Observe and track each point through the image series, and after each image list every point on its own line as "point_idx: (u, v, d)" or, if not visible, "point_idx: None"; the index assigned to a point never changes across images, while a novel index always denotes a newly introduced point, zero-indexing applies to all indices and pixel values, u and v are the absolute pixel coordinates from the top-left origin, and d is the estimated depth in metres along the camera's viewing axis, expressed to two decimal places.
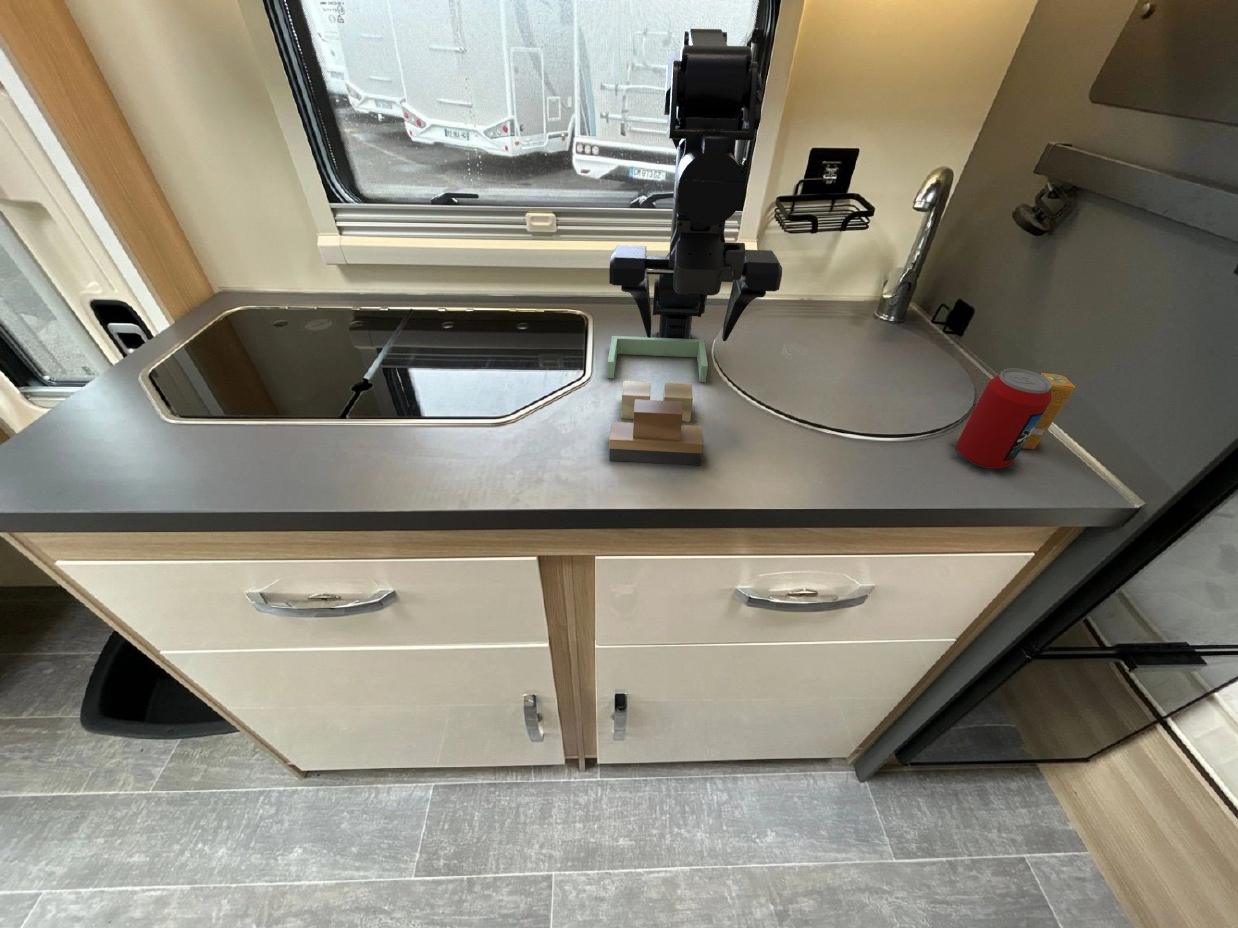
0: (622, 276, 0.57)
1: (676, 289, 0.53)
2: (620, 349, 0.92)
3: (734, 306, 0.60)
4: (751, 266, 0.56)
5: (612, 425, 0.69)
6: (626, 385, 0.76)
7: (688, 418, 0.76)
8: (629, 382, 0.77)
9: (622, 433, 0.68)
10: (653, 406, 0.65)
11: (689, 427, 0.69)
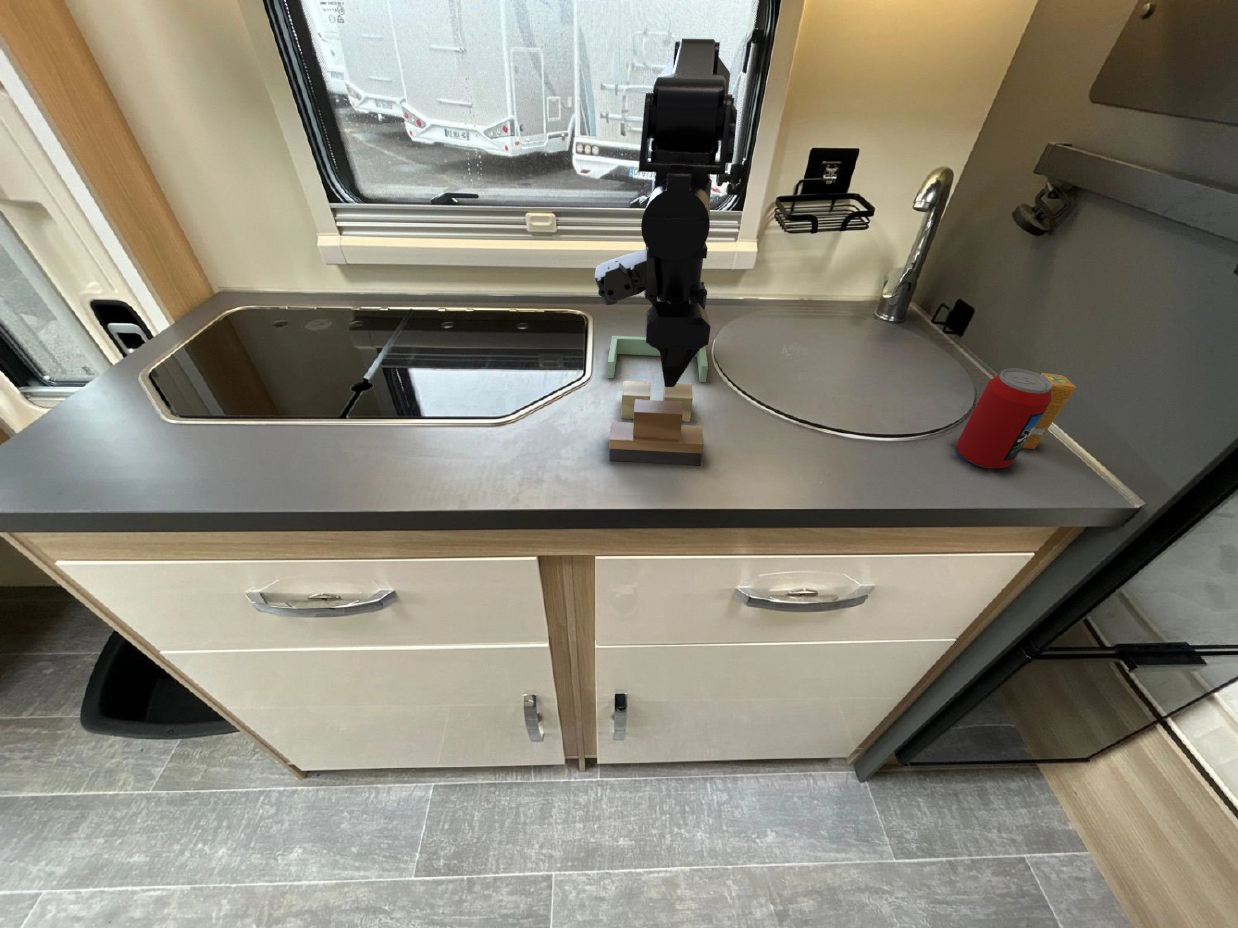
0: None
1: None
2: (620, 349, 0.92)
3: None
4: (652, 308, 0.52)
5: (612, 425, 0.69)
6: (626, 385, 0.76)
7: (688, 418, 0.76)
8: (629, 382, 0.77)
9: (622, 433, 0.68)
10: (653, 406, 0.65)
11: (689, 427, 0.69)
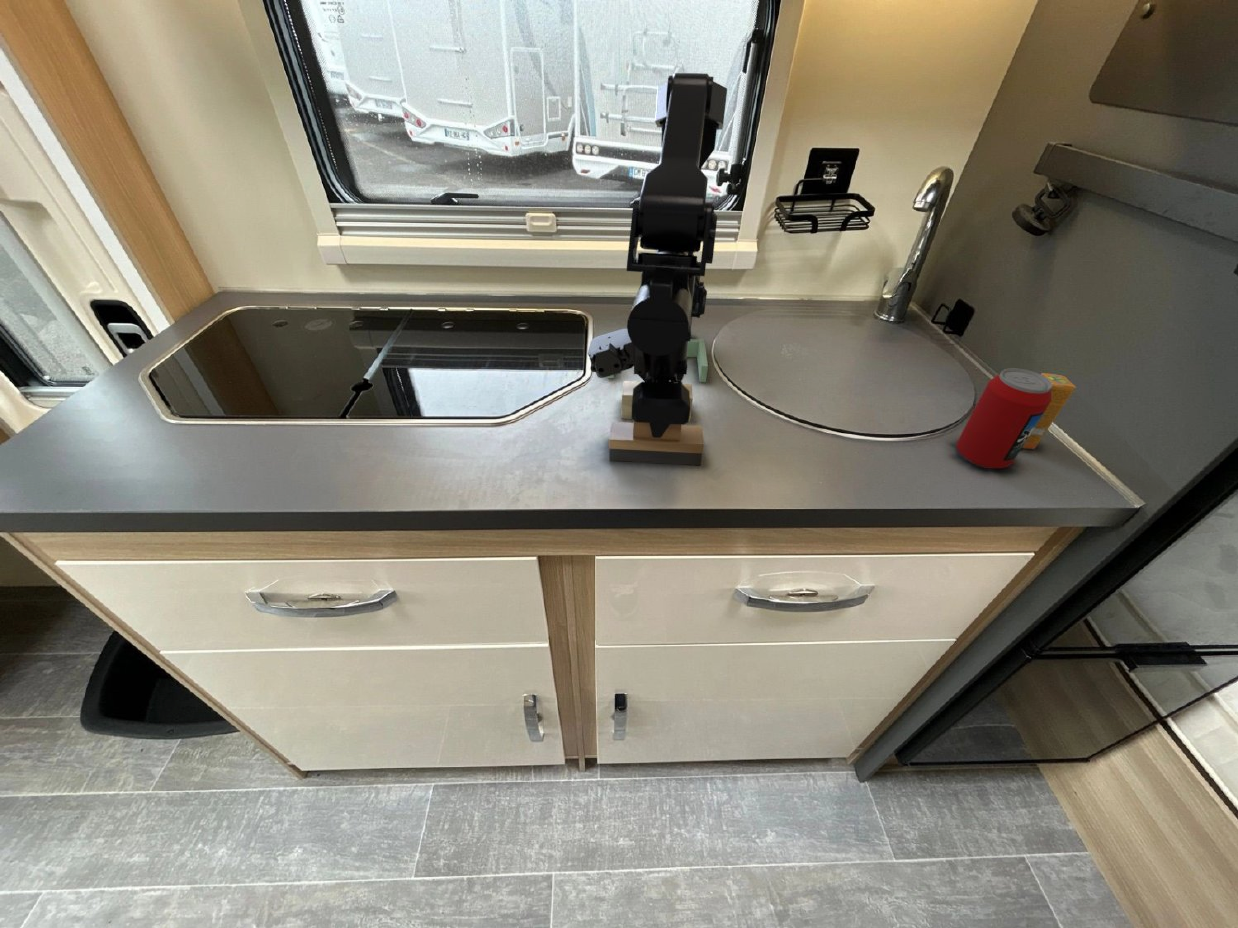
0: None
1: None
2: None
3: None
4: (638, 386, 0.57)
5: (612, 425, 0.69)
6: (626, 385, 0.76)
7: None
8: (629, 382, 0.77)
9: (622, 433, 0.68)
10: None
11: (689, 427, 0.69)
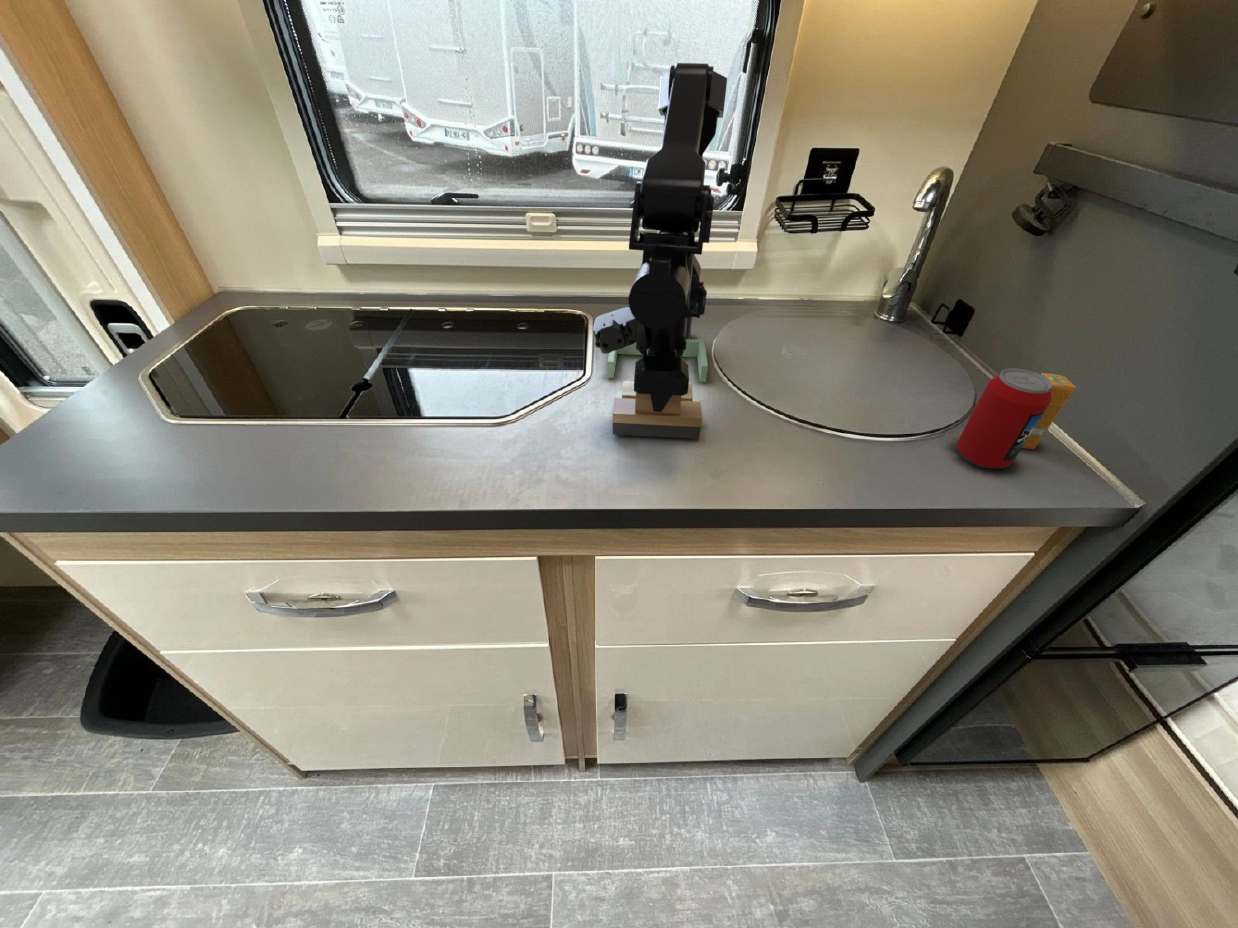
0: None
1: None
2: (620, 349, 0.92)
3: None
4: (640, 360, 0.61)
5: (615, 401, 0.73)
6: (626, 385, 0.76)
7: None
8: (629, 382, 0.77)
9: (624, 408, 0.71)
10: None
11: (688, 403, 0.72)
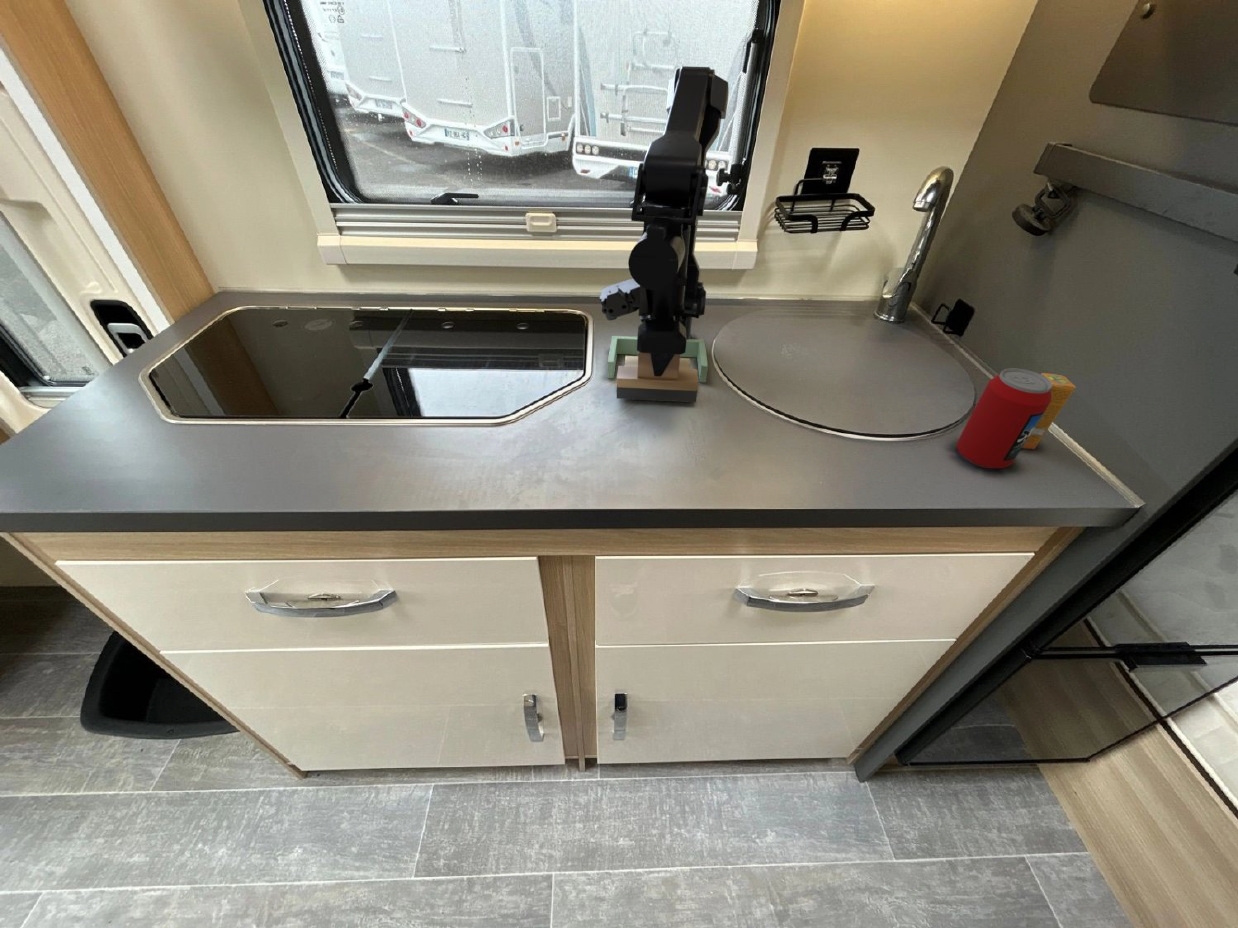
0: None
1: None
2: (620, 349, 0.92)
3: None
4: (642, 324, 0.67)
5: (619, 368, 0.79)
6: (628, 359, 0.82)
7: None
8: (631, 357, 0.83)
9: (628, 374, 0.78)
10: None
11: (686, 370, 0.79)
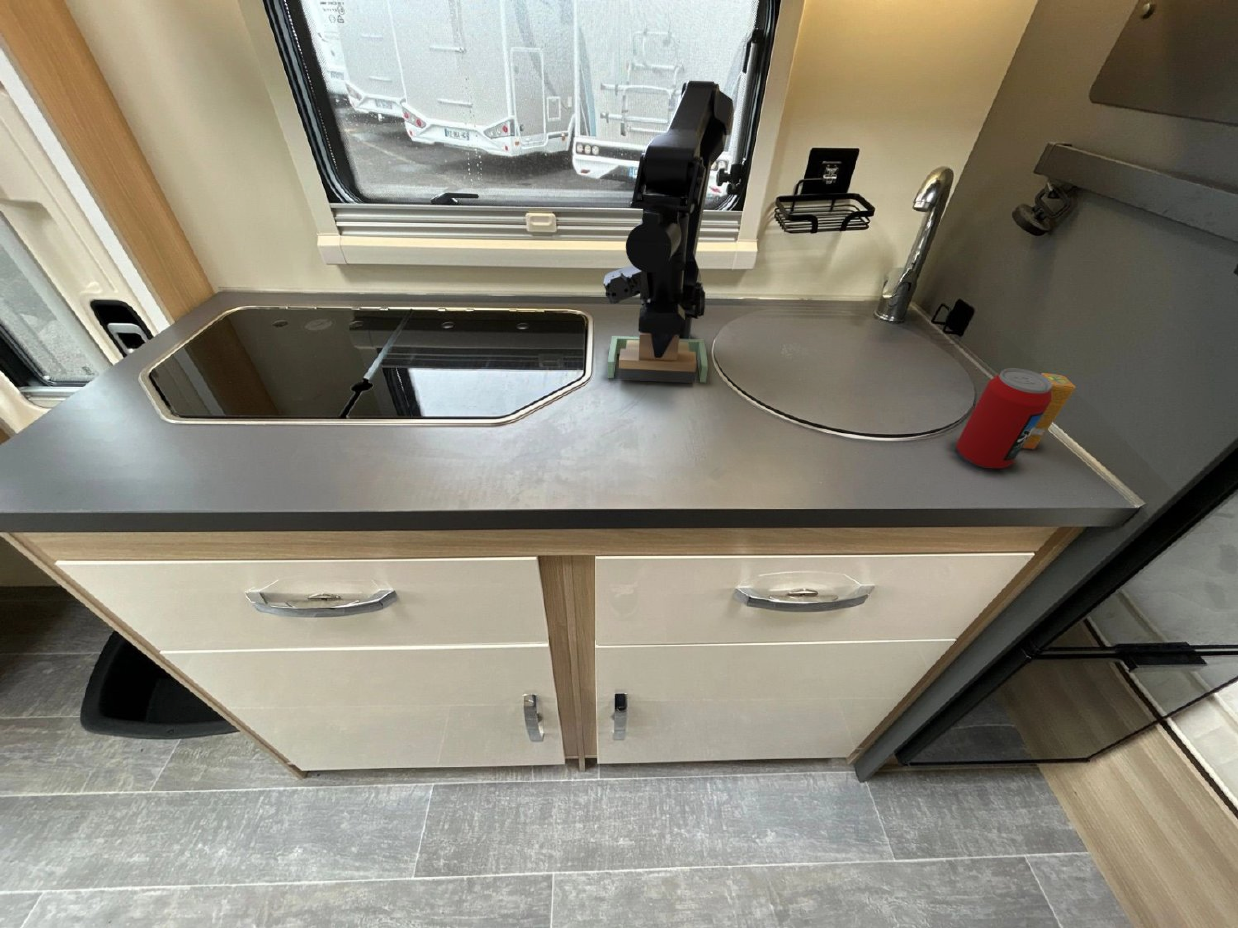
0: None
1: None
2: (620, 349, 0.92)
3: None
4: (643, 306, 0.72)
5: (621, 350, 0.84)
6: (629, 343, 0.87)
7: None
8: (632, 341, 0.87)
9: (629, 356, 0.82)
10: None
11: (684, 352, 0.84)
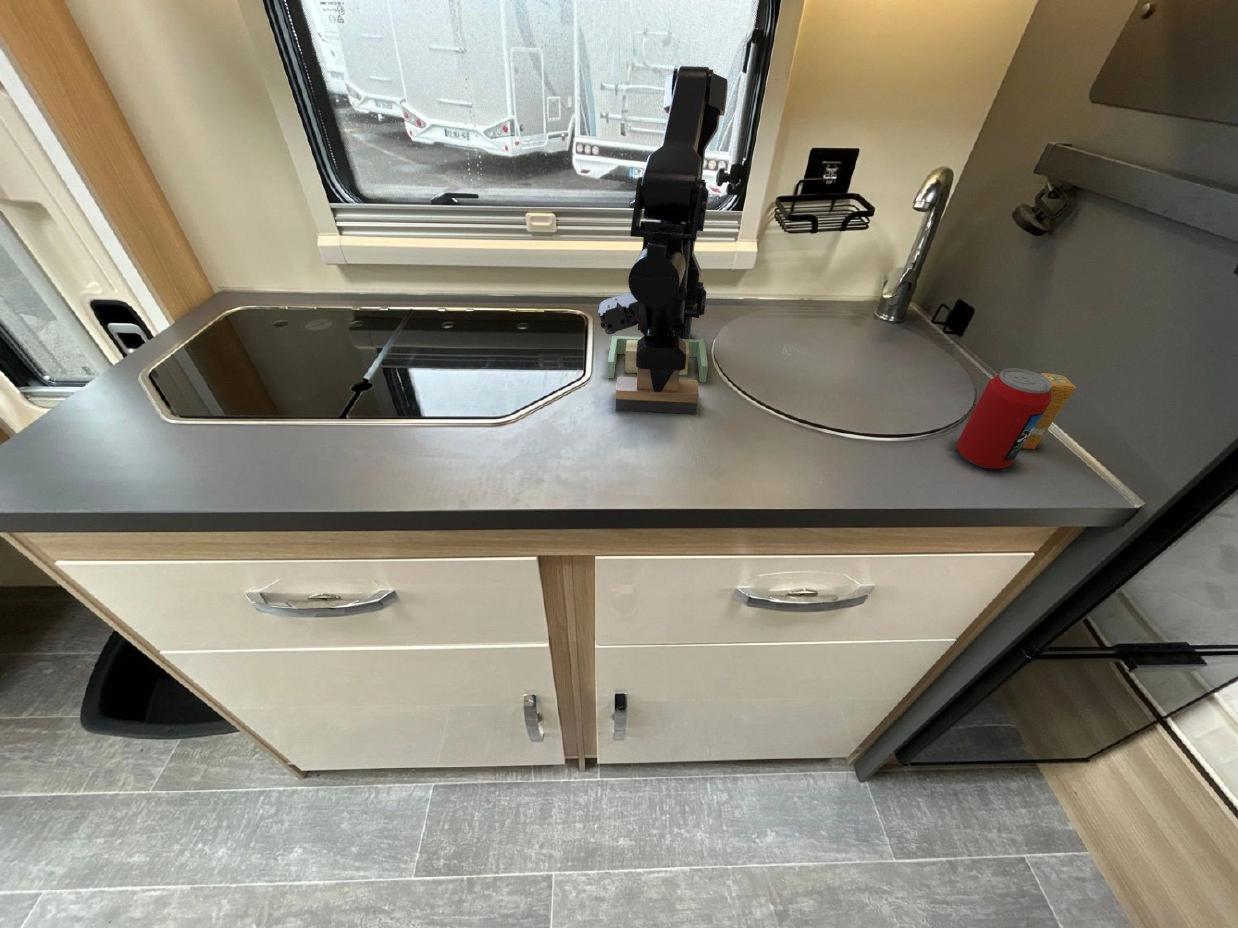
0: None
1: None
2: (620, 349, 0.92)
3: None
4: (641, 339, 0.66)
5: (618, 379, 0.78)
6: (629, 343, 0.87)
7: (685, 372, 0.86)
8: (632, 341, 0.87)
9: (627, 385, 0.77)
10: None
11: (686, 381, 0.78)
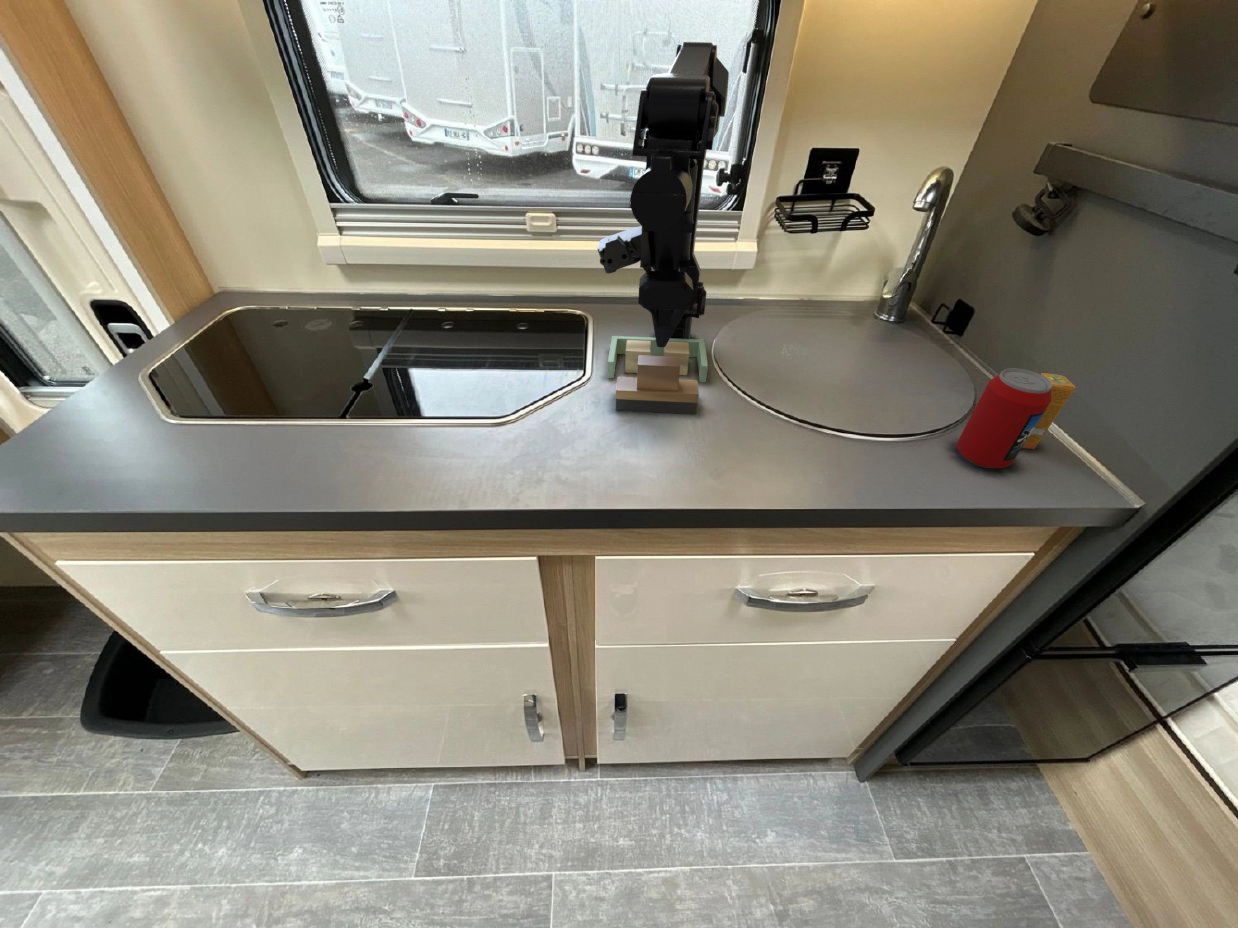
0: None
1: None
2: (620, 349, 0.92)
3: None
4: (644, 275, 0.61)
5: (618, 379, 0.78)
6: (629, 343, 0.87)
7: (685, 372, 0.86)
8: (632, 341, 0.87)
9: (627, 385, 0.77)
10: (655, 360, 0.75)
11: (686, 381, 0.78)
